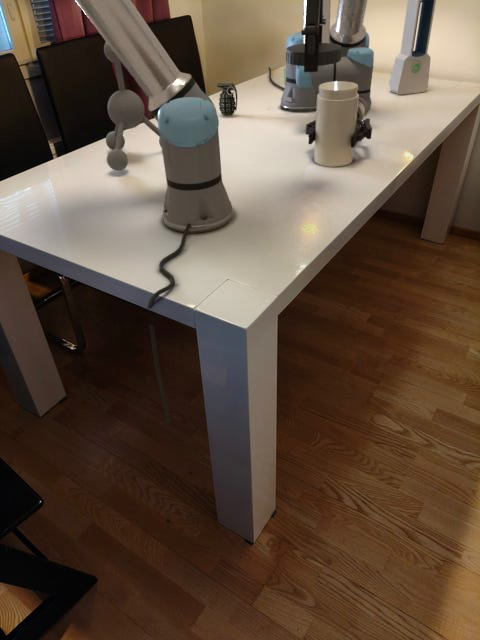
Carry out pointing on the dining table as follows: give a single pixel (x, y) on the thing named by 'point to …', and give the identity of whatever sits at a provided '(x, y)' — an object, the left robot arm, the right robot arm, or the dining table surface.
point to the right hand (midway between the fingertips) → (331, 140)
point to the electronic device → (415, 64)
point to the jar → (335, 123)
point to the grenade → (227, 99)
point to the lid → (325, 55)
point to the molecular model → (123, 116)
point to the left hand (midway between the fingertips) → (312, 65)
